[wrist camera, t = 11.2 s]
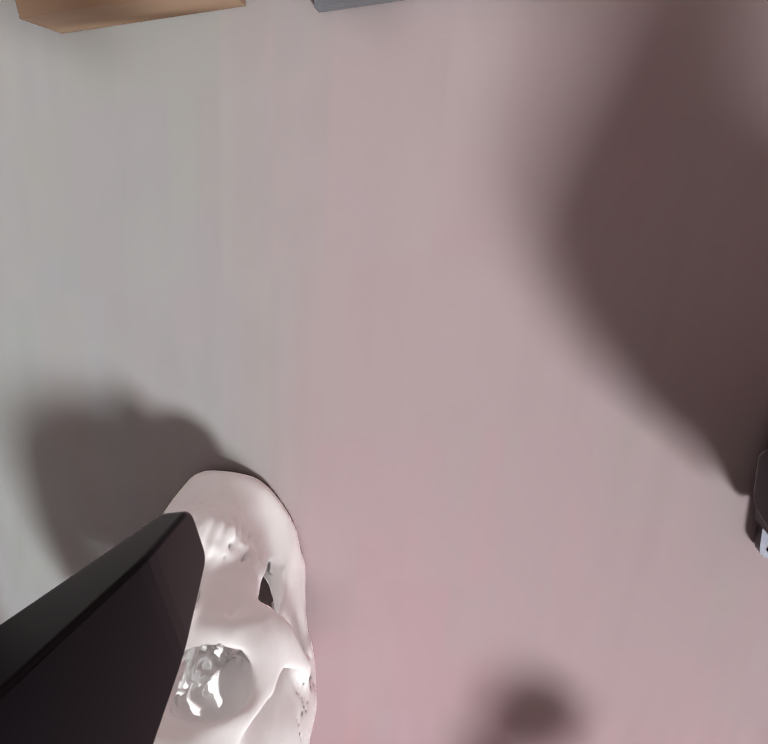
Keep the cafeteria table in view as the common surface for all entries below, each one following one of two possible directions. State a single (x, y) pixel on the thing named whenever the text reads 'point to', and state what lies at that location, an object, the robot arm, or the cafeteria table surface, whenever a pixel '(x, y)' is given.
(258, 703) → the skull bowl
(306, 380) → the cafeteria table surface
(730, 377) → the cafeteria table surface
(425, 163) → the cafeteria table surface
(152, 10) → the walnut ledge
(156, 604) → the robot arm
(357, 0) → the charcoal pad
